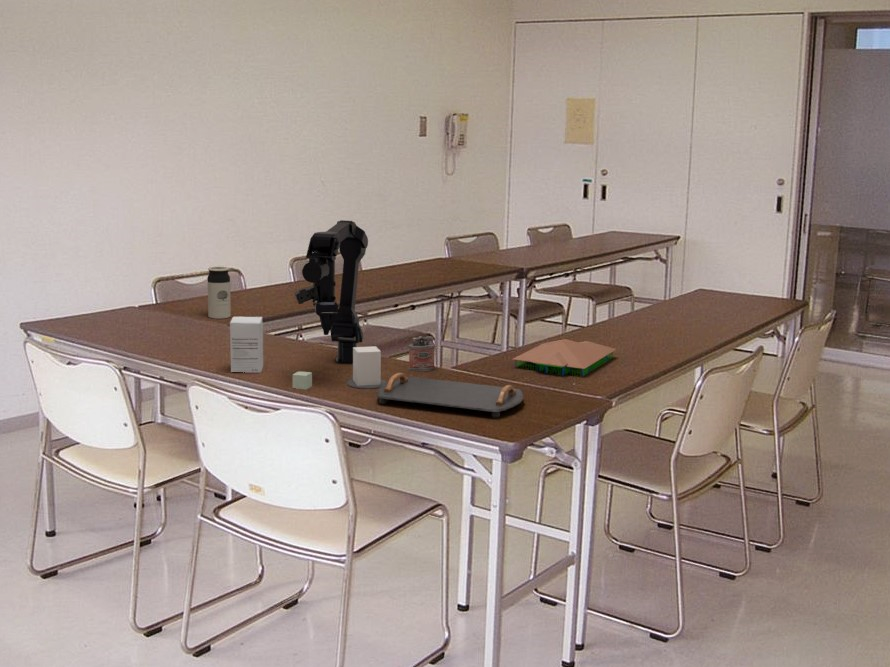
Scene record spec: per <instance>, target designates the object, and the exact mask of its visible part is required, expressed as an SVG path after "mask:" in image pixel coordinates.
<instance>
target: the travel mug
mask: <svg viewBox="0 0 890 667" xmlns="http://www.w3.org/2000/svg"><path fill="white" fill-rule="evenodd" d="M207 270H208V273H209V274H208V275H207V277H206V278H207V312H208V314H207V315H208V316H207V317H208V318H209V319H213V320H221V319H222V320H224V319H228V318H231V317H232V311H231V310H232V306H231V304H232V303H231V276H230V275H229V270H230V267H227V266H210V267H208V268H207Z"/></svg>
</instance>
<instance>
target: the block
mask: <svg viewBox="0 0 890 667" xmlns="http://www.w3.org/2000/svg"><path fill="white" fill-rule="evenodd" d="M312 386H313V372H309V371H296V372H295V373H293V374H292V389H293V388H296V390H305V391H307V390H309V389H310V388H312Z"/></svg>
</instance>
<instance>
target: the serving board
mask: <svg viewBox="0 0 890 667" xmlns="http://www.w3.org/2000/svg"><path fill="white" fill-rule="evenodd" d="M376 398H378V400H379V402H378V403H379V404H380V405H386V404H388V400H392V401H401V402H407V403H416V404H423V405H433V406H441V407H448V408H449V407H450V408H457V409H466V410H467V409H468V410H474V411H475V410H476V411H482V412H490V413H491V417H492V418H493V417H494V419H498V418H500V417H501V413H500V412H503V411H507V410H509V409H512V408H514V407H516V406H518V405H519V404H521V403H522V401H523V400H524V392H523V391H522V390H521V389H519V388H515V387H514V386H513V385H511V384H506V385H504V386H498V385H487V384H478V383H471V382H464V381H463V382H462V381H461V382H460V381H453V380H444V379H433V378H426V377H417V376H405V374H404V373H402V372H397V373H395V374H393V375H392V376H391V377H389V379H388V382H386V384H385V385H383V386H381V387H380V388H378V390H377V392H376Z"/></svg>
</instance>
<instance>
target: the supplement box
mask: <svg viewBox="0 0 890 667" xmlns="http://www.w3.org/2000/svg"><path fill="white" fill-rule="evenodd" d="M263 326H264V325H263V316H232V318H231V320H230V322H229V335H230V336H229V342H230V343H229V344H230V349H229V350H230V373H231V372H243V373H244V372H245V373H246V374H247V373H253V374H255V373H258V374H259V373H262V372H263V368H264V336H263V334H264V332H263V331H264V328H263ZM243 373H242V374H243Z"/></svg>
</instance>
